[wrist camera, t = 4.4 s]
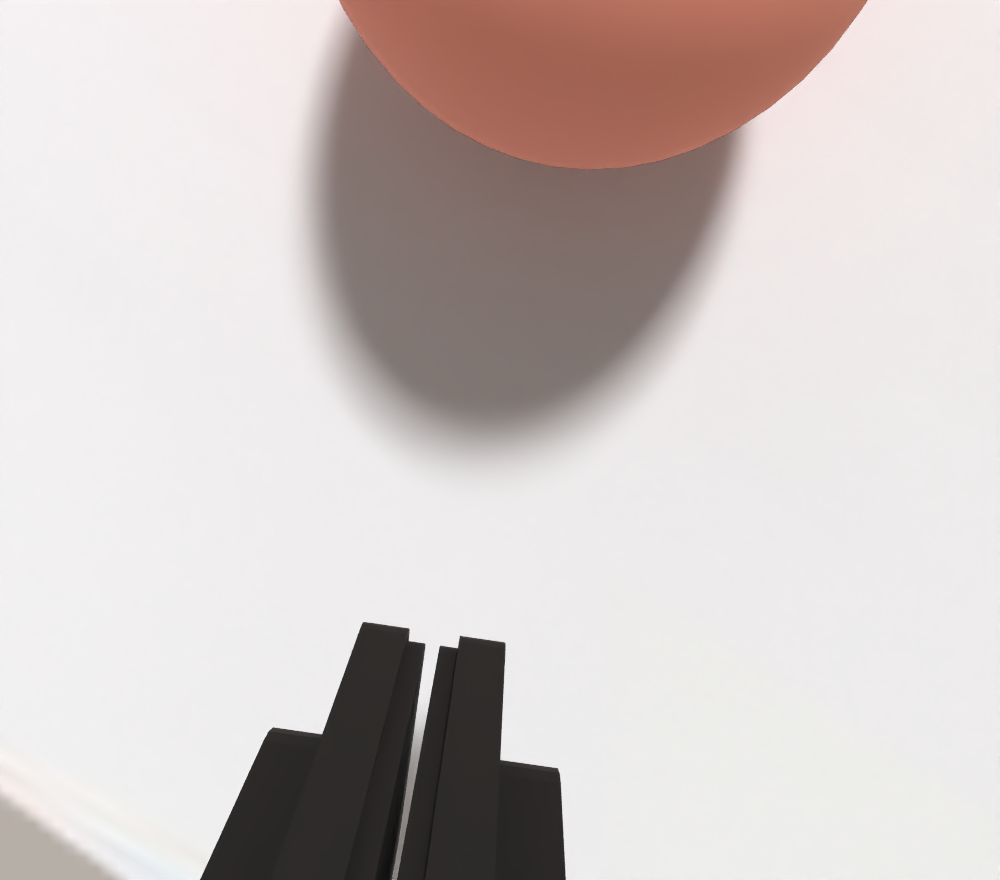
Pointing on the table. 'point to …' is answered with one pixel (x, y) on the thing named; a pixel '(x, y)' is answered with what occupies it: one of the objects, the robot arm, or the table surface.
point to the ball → (599, 68)
